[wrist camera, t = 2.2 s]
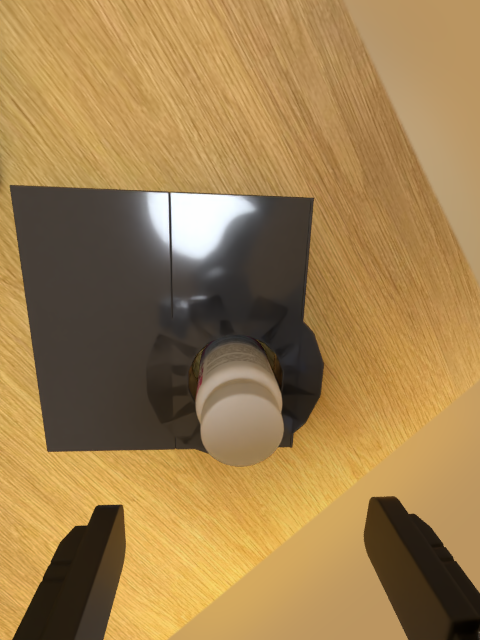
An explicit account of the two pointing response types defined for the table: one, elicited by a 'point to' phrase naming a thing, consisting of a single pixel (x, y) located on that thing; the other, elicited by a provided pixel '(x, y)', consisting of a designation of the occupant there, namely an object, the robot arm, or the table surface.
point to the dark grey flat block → (158, 306)
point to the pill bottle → (238, 402)
